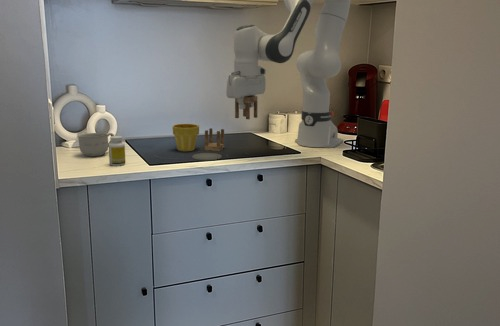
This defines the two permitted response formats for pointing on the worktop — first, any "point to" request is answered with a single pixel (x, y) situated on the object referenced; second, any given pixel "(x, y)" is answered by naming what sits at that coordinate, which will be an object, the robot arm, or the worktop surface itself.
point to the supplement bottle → (116, 151)
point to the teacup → (94, 143)
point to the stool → (246, 107)
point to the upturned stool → (214, 146)
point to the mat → (206, 156)
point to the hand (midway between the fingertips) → (246, 108)
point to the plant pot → (186, 136)
